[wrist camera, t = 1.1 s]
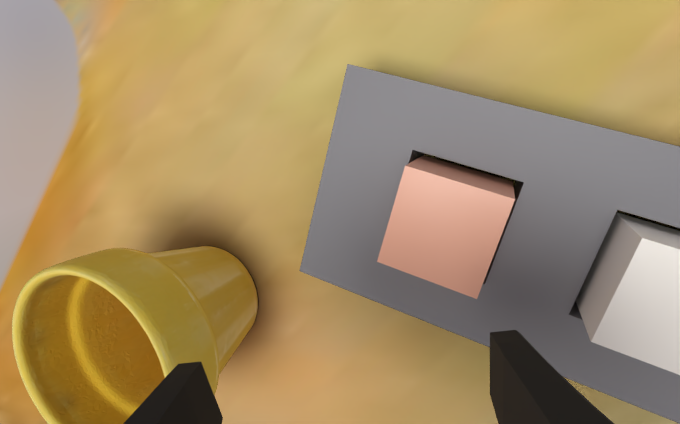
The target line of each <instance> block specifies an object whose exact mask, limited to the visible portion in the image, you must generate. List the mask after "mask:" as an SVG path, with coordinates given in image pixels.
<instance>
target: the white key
mask: <svg viewBox="0 0 680 424" xmlns="http://www.w3.org/2000/svg"><path fill="white" fill-rule="evenodd" d="M575 301H576V303H577V306H578V309H579V311H580V314H581V317H582V319H583V322H584V325H585V327H586V330H587V333H588V335H589V338H590V341H591V342H593V343H595V344H598V345H601V346H603V347H606V348H609V349H611V350H614V351H617V352H620V353H622V354H625V355H628V356H630V357H633V358H636V359H638V360H641V361H644V362H646V363H649V364H652V365H654V366H657V367H660V368H662V369H665V370H668V371H670V372H673V373H676V374H678V375H680V231H679V230H675V229H672V228H669V227H665V226H662V225H658V224H655V223H652V222H648V221H645V220H641V219H638V218H635V217H631V216H628V215H624V214H621V213H618V212H616V214H615V216H614V218H613V220H612V222H611V225H610V227H609V229H608V231H607V233H606V235H605V238H604V240H603V242H602V244H601V246H600V248H599V250H598V253H597V255H596V257H595V259H594V261H593V263H592V266H591V268H590V270H589V272H588V274H587V276H586V278H585V281H584V283H583V285H582V287H581V289H580V291H579V294H578V296H577V298H576V300H575Z"/></svg>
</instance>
